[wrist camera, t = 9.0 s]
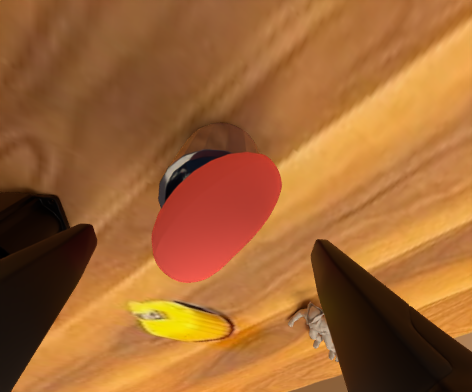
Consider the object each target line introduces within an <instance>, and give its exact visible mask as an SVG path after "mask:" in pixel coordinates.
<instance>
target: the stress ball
mask: <svg viewBox="0 0 472 392" xmlns="http://www.w3.org/2000/svg"><path fill="white" fill-rule="evenodd" d="M281 188H282V182H281V177H280V174H279V171H278V169H277V167H276V166H275V164H274V163H273V162H272V161H271V160H270V159H269V158H268V157H267V156H265V155H263V154H257V153H251V152H242V153H234V154H228V155H225V156H222V157H220V158H217V159H214V160H211V161H210V162H208V163H207V164H205V165H203V166H202V167H200V168H198V169H197V170H195V171H193V172H192V173H191V174H190V175H189V176H188V177H187V178H186V179H185V180H184V181H182V182H181V183H180V184H179V185H178V186H177V187H176V188H175V190H174V191H173V192H172V193H171V195H170V196H169V197H168V199H167V200H166V202H165V203H164V205H163V207H162V208H161V210H160V212H159V214H158V216H157V219H156V222H155V225H154V228H153V231H152V248H153V255H154V258H155V261H156V263H157V265H158V266H159V268H160V269H161V270H162V271H163V272H164V273H165V274H166V275H168V276H169V277H171V278H172V279H174V280H176V281H180V282H185V283H191V282H198V281H202V280H204V279H207V278H209V277H210V276H212V275H213V274H215V273H216V272H218V271H219V270H220V269H221V268H222V267H224V266H225V265H226V264H227V263H228V262H229V261H230V260H231V259H232V258H233V257H234V256H235V255H236V254H237V253H238V252H239V251H240V250H241V249H242V248H243V247H244V246H245V245H246V244H247V243H248V242H249V241H250V240H251V239H252V238H253V237H254V236H255V235H256V233H257V232H258V231H259V230H260V229H261V228H262V226H263V225H264V223H265V222H266V220H267V219H268V218H269V216H270V214H271V213H272V211H273V209H274V207H275V205H276V203H277V201H278V198H279V195H280V192H281Z"/></svg>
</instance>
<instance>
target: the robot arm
mask: <svg viewBox="0 0 472 392" xmlns="http://www.w3.org/2000/svg"><path fill="white" fill-rule="evenodd" d="M52 200H53V201H52ZM96 246H97V238H96V235H95V232H94V228H93V226H92V225H90V224H78V225H76V226H73V227H71V228H70V227H69V224H68V222H67V219H66V216H65V214H64V211H63V209H62V206H61V204H60V201H59V199H58V198H57V197H56V196H52V195H34V194H30V193H13V192H5V193H0V392H11V391H12V389H13V387H14V386H15V384H16V382H17V381H18V379H19V378H20V376H21V374H22V373H23V371H24V370H25V368H26V366H27V365H28V363H29V362H30V360H31V358H32V357H33V355H34V353H35V352H36V350H37V349H38V347H39V345H40V344H41V342H42V341H43V339H44V337H45V336H46V334H47V332H48V331H49V329H50V328H51V326H52V324H53V323H54V321H55V320H56V318H57V316H58V315H59V313H60V311H61V310H62V308H63V307H64V305H65V303H66V302H67V300H68V299H69V297H70V295H71V294H72V292H73V290H74V289H75V287H76V286H77V284H78V282H79V280H80V278H81V277H82V275H83V273H84V271H85V268H86V266H87V264H88V262H89V260H90V258H91V256H92V254H93V252H94V250H95V248H96ZM311 262H312V267H313V272H314V277H315V282H316V288H317V292H318V296H319V300H320V303H321V306H322V309H323V313H324V316H325V319H326V322H327V325H328V329H329V332H330V335H331V338H332V341H333V345H334V348H335V351H336V354H337V357H338V361H339V364H340V367H341V370H342V374H343V376H344V380H345V383H346V386H347V390H348V392H472V352H471V351H470V350H469V349H467V348H466V347H464V346H463V345H461V344H460V343H459V342H457V341H456V340H454V339H453V338H452V337H451V336H449V335H448V334H446V333H445V332H444V331H442V330H441V329H440V328H438V327H437V326H436V325H434V324H433V323H432V322H431V321H429V320H428V319H427V318H425V317H424V316H423V315H421V314H420V313H419V312H418V311H416V310H415V309H414V308H413V307H411V306H409V304H407V303H406V302H405V301H404V300H402V299H401V298H400V297H399V296H397V295H396V294H395V293H394V292H392V291H391V290H390V289H389V288H387V287H386V286H385V285H384V284H382V283H381V282H380V281H378V280H377V279H376V278H375V277H373V276H372V275H371V274H370V273H368V272H367V271H366V270H365V269H363V268H362V267H361V266H360V265H358V264H357V263H356V262H354V261H353V260H352V259H351V258H349V257H348V256H347V255H346V254H344V253H343V252H342V251H341V250H339V249H338V248H337V247H336V246H334V245H333V244H332V243H331V242H329V241H328V240H323V239H317V240H316V241H315V244H314V247H313V250H312V253H311Z"/></svg>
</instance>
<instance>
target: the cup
mask: <svg viewBox="0 0 472 392" xmlns="http://www.w3.org/2000/svg"><path fill="white" fill-rule="evenodd" d="M242 152H251V153H257V154H259V151H258V149H257V146H256V144H255V142H254V141H253V139H252V138H251V137H250V136H249V135H248V134H247V133H246V132H245V131H244V130H242V129H240V128H239V127H237V126H234V125H231V124H227V123H213V124H209V125H206V126H203V127H201V128H200V129H198V130H197V131H195V132H194V133H193V134H192V135H191V136H190V137H189V138H188V140H187V141H186V143H185V144H184V145H183V147H182V148H181V150H180V151H179V153H178V154H177V155H176V157H175V158H174V160H173V161H172V163H171V164H170V165H169V167H168V168H167V170H166V172H165V174H164V176H163V177H162V179H161V181H160V185H159V197H158V200H159V203H160V206H161V208H162V207H163V205H164V203H165V202H166V200H167V199H168V197H169V196H170V195H171V193H172V192H173V191H174V190H175V188H176V187H177V186H178V185H179V184H180V183H181V182H182V181H184V180H185V179H186V178H187V177H188V176H189V175H190V174H191V173H192V172H193V171H195V170H197V169H198V168H200V167H202V166H203V165H205V164H207V163H208V162H210V161H211V160H214V159H217V158H220V157H222V156H225V155H228V154H234V153H242Z"/></svg>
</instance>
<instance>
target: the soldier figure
mask: <svg viewBox="0 0 472 392" xmlns="http://www.w3.org/2000/svg"><path fill="white" fill-rule="evenodd" d="M323 314H324V313H323V310H322V309H320V308H318V307H316V306H315V305H314V304H313V303H312V302H311V301H310V303H309V304H308V309H300V310H299V311H298V312H296V313H295V314H294V316H293V317H292V319H290V320H289V322H288V325H289V326H290V327H292V326H293V324H294V322H295V321H296V320H298V319H299V318H300V317H302V316H303V317H305V318H306V324H307V325H309V326H310V331H309V335H310V337H311V338H312V339H314V340H315V339H316V340H315V341H314V344H313V347H314V348H317V347H318V346H319V344H320V342H321V341H322V340H324V342H325V344H326V347H327V348H328V349H329V350H330V351H329V359H331V360H333V358H334V356H335V355H336V360H335V361H337V362H339V361H338V360H337V359H338V357H337V354H336V351H335V348H334V345H333V341H332V338H331V335H330V332H329V329H328V325H327V322H326V319H325V317H323V316H322V315H323ZM318 333H319V334H321V335H322V336H320V335H319V334H318Z"/></svg>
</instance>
